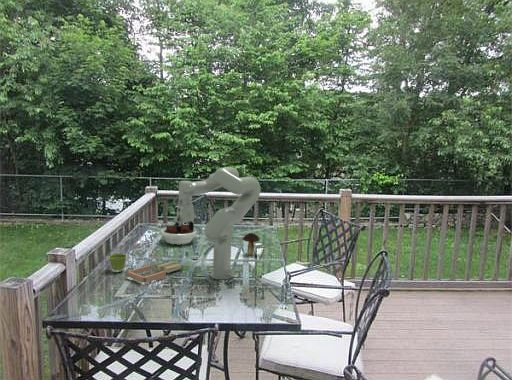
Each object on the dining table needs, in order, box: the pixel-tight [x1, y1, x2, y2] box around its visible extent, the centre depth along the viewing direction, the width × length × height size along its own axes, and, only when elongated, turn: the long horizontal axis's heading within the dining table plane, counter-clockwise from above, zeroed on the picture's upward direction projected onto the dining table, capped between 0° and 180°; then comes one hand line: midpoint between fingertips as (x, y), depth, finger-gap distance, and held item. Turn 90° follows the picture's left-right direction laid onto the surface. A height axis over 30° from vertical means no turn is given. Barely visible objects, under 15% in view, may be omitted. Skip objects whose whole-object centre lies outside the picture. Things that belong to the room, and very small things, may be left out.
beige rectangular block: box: [157, 261, 184, 275], centre depth 230 cm, size 8×11×4 cm
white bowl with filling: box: [159, 222, 198, 246], centre depth 287 cm, size 25×25×15 cm
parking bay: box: [125, 264, 167, 282], centre depth 216 cm, size 14×14×4 cm
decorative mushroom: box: [242, 232, 260, 256], centre depth 265 cm, size 11×11×15 cm
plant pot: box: [108, 253, 128, 270], centre depth 225 cm, size 9×9×9 cm
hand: (185, 231), depth 237 cm, fingers open, 9 cm apart
